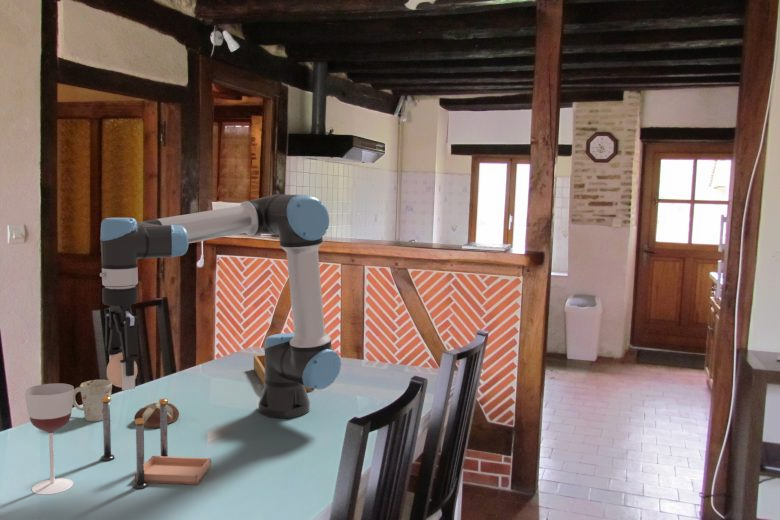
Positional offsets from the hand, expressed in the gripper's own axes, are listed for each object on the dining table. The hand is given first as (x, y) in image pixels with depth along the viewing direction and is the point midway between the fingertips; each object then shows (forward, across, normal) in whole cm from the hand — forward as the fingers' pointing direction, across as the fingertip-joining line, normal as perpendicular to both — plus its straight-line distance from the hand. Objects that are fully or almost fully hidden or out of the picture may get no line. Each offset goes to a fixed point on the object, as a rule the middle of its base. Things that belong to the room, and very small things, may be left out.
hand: (122, 385), depth 160 cm
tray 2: (+22, -42, +71) cm, 85 cm away
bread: (+21, -28, +20) cm, 41 cm away
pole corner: (+21, 0, +10) cm, 23 cm away
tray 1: (+21, +8, +8) cm, 24 cm away
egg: (+1, 0, 0) cm, 1 cm away
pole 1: (+21, -10, 0) cm, 23 cm away
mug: (+21, -42, +7) cm, 48 cm away
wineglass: (+21, -2, -15) cm, 26 cm away
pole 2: (+21, +10, 0) cm, 23 cm away
